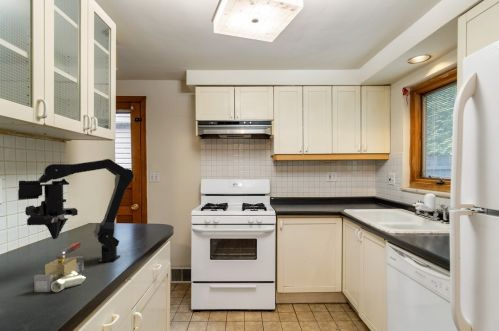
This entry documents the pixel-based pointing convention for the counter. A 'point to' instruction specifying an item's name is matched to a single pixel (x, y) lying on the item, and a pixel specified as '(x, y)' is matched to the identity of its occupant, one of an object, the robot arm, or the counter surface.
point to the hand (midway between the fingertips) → (54, 238)
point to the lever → (67, 250)
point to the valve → (57, 272)
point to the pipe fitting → (67, 281)
